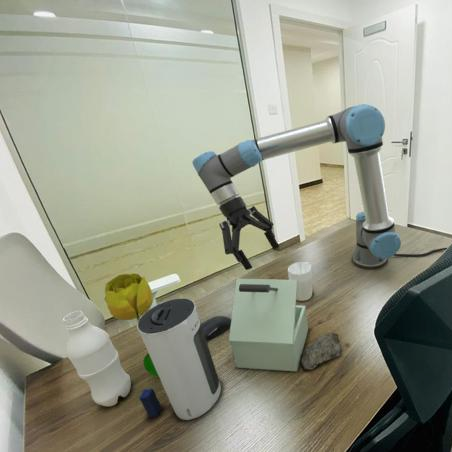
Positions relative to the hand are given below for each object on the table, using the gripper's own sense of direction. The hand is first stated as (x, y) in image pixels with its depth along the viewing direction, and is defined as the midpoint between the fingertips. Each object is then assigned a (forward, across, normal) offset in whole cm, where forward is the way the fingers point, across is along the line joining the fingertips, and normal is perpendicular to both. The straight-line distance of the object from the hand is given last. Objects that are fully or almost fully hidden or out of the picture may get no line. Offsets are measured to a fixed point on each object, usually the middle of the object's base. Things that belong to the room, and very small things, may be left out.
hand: (263, 257), depth 86 cm
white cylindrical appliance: (+18, +36, -2) cm, 40 cm away
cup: (+21, -7, -1) cm, 22 cm away
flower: (+12, +36, -15) cm, 40 cm away
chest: (+22, +16, +4) cm, 28 cm away
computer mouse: (+13, +23, -14) cm, 30 cm away
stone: (+28, +12, +16) cm, 35 cm away
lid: (+8, +17, +12) cm, 22 cm away
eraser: (+15, +42, -7) cm, 46 cm away
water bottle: (+9, +44, -19) cm, 49 cm away
